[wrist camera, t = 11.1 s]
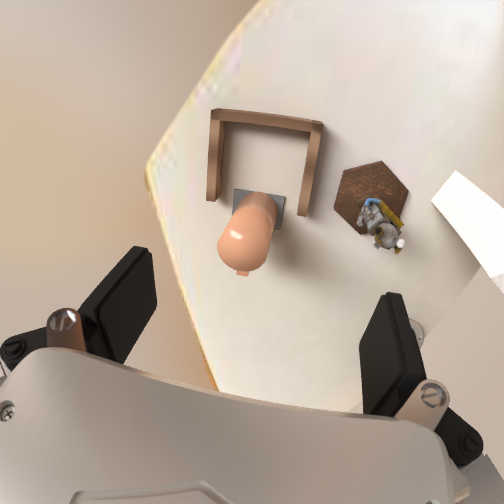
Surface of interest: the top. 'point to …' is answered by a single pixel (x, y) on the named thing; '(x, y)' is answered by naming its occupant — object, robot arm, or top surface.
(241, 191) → the mat
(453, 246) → the top surface
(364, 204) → the robot figurine
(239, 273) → the peach rounded cylinder
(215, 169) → the frame
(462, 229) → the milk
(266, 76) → the top surface
